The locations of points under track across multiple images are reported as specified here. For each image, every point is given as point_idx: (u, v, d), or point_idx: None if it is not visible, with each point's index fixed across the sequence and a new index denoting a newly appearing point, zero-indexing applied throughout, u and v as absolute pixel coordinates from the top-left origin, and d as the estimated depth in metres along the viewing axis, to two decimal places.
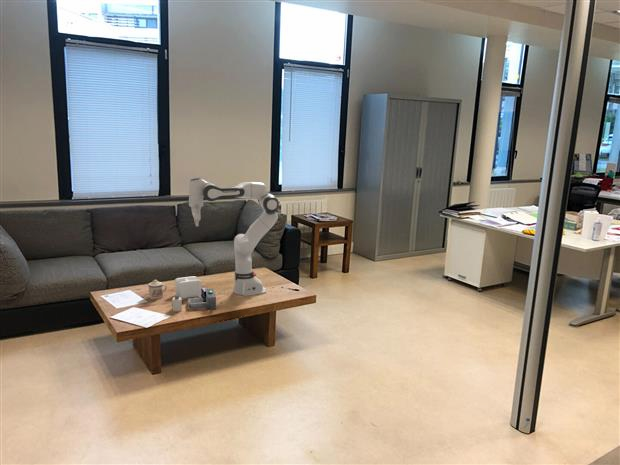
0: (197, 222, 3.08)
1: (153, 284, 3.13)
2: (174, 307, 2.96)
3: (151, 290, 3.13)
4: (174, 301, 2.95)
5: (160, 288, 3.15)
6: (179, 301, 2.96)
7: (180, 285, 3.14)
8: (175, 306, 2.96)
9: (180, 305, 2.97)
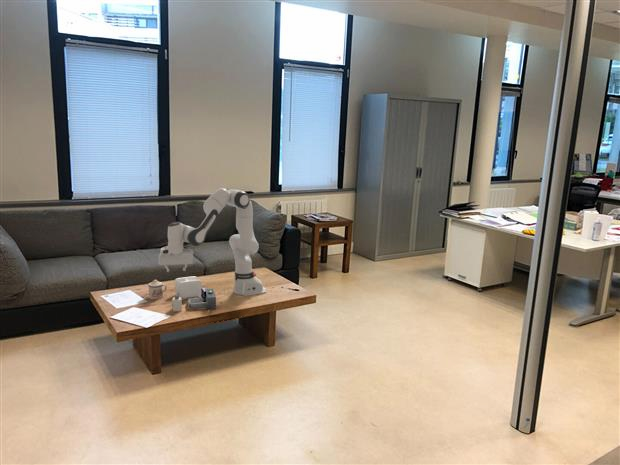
0: None
1: (153, 284, 3.13)
2: (174, 307, 2.96)
3: (151, 290, 3.13)
4: (174, 301, 2.95)
5: (160, 288, 3.15)
6: (179, 301, 2.96)
7: (180, 285, 3.14)
8: (175, 306, 2.96)
9: (180, 305, 2.97)
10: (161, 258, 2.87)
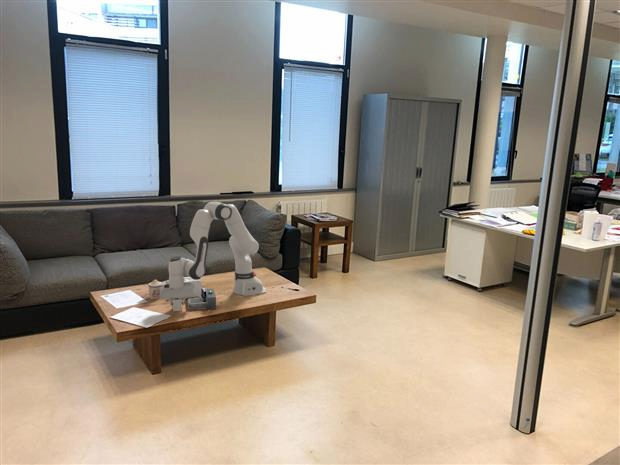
0: None
1: (153, 284, 3.13)
2: (174, 307, 2.96)
3: (151, 290, 3.13)
4: (174, 301, 2.95)
5: (160, 288, 3.15)
6: (179, 301, 2.96)
7: None
8: (175, 306, 2.96)
9: (180, 305, 2.97)
10: (162, 292, 2.92)
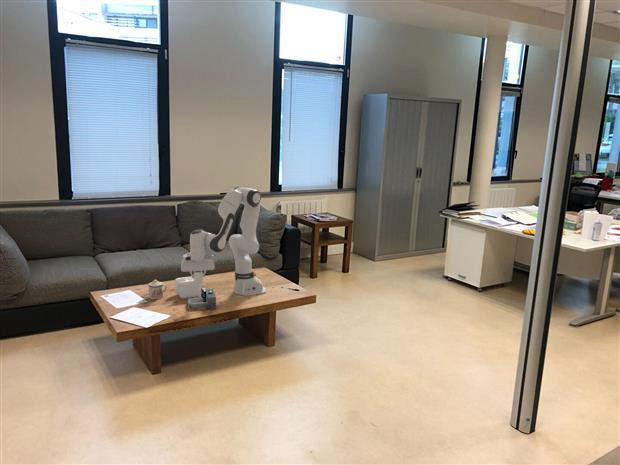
0: None
1: (153, 284, 3.13)
2: (195, 279, 2.99)
3: (151, 290, 3.13)
4: (195, 273, 2.98)
5: (160, 288, 3.15)
6: (200, 273, 2.99)
7: (180, 285, 3.14)
8: (196, 278, 2.99)
9: (201, 277, 3.00)
10: (184, 265, 2.95)
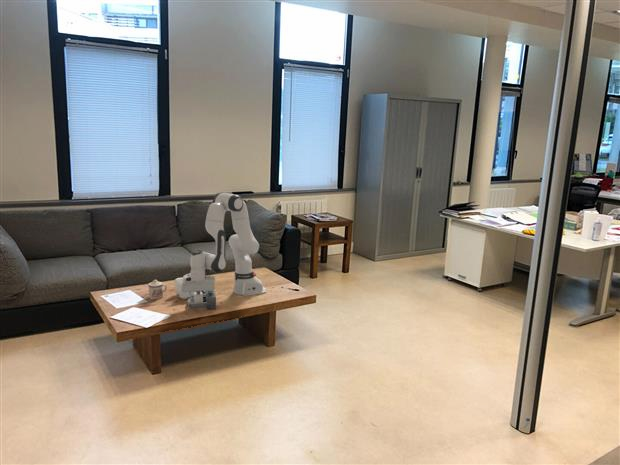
0: None
1: (153, 284, 3.13)
2: (196, 302, 3.02)
3: (151, 290, 3.13)
4: (196, 296, 3.02)
5: (160, 288, 3.15)
6: (200, 296, 3.02)
7: (180, 285, 3.14)
8: (196, 301, 3.02)
9: (201, 300, 3.03)
10: (184, 285, 2.98)
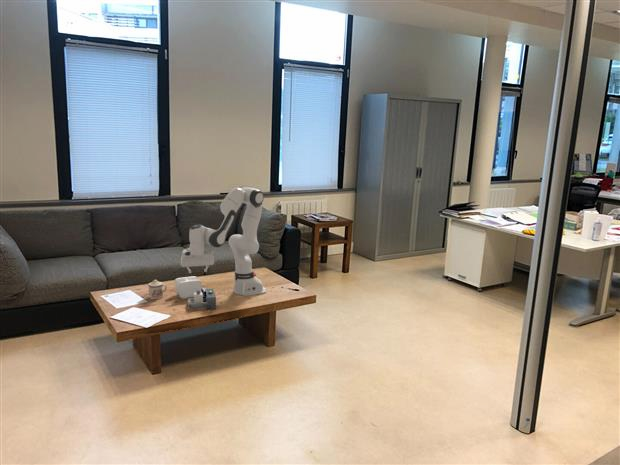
0: None
1: (153, 284, 3.13)
2: (196, 302, 3.02)
3: (151, 290, 3.13)
4: (196, 296, 3.02)
5: (160, 288, 3.15)
6: (200, 296, 3.02)
7: (180, 285, 3.14)
8: (196, 301, 3.02)
9: (201, 300, 3.03)
10: (183, 260, 2.96)
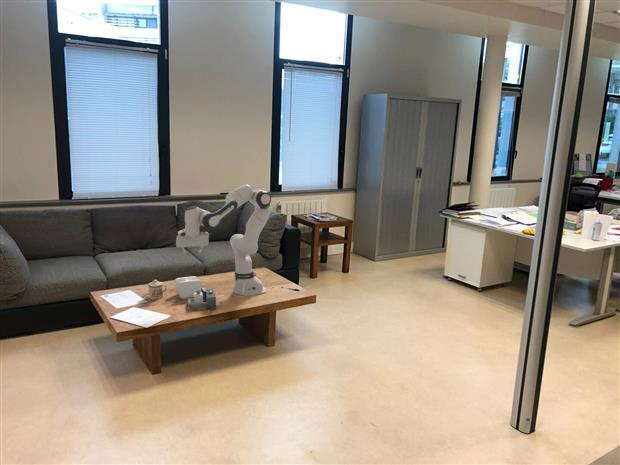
0: None
1: (153, 284, 3.13)
2: (196, 302, 3.02)
3: (151, 290, 3.13)
4: (196, 296, 3.02)
5: (160, 288, 3.15)
6: (200, 296, 3.02)
7: (180, 285, 3.14)
8: (196, 301, 3.02)
9: (201, 300, 3.03)
10: (179, 240, 3.03)
